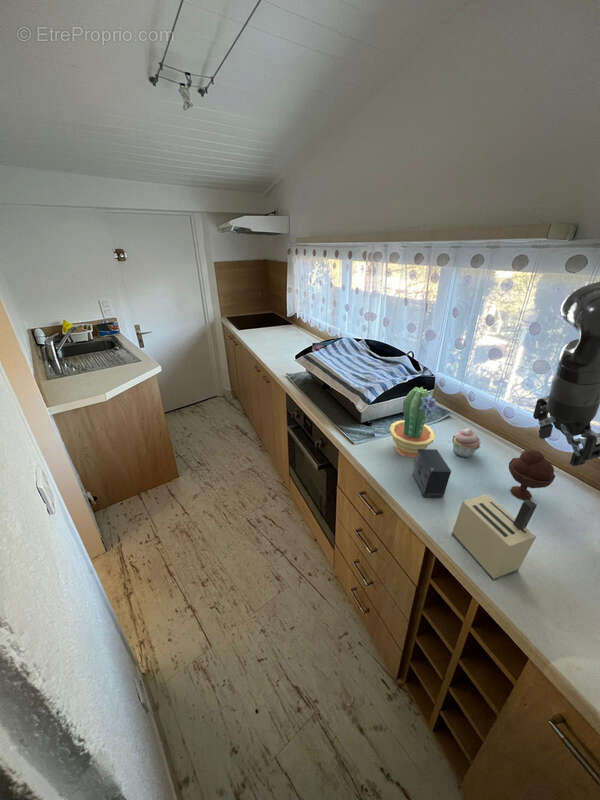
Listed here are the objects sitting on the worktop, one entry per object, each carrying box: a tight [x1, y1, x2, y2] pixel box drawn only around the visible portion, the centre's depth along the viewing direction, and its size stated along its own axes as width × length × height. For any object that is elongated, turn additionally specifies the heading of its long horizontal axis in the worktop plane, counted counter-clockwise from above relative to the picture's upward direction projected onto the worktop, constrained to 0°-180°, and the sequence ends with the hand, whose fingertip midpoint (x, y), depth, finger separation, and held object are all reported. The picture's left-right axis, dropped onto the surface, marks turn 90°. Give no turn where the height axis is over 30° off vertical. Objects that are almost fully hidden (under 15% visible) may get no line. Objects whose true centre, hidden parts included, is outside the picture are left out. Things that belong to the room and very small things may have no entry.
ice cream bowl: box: [508, 448, 556, 501], centre depth 89 cm, size 11×11×15 cm
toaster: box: [451, 493, 537, 581], centre depth 73 cm, size 8×13×12 cm, turn 18°
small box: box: [411, 448, 452, 499], centre depth 93 cm, size 11×6×10 cm, turn 0°
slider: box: [513, 499, 538, 530], centre depth 66 cm, size 2×2×7 cm
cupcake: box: [451, 428, 481, 458], centre depth 108 cm, size 9×9×10 cm
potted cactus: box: [389, 386, 437, 458], centre depth 106 cm, size 16×15×25 cm
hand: (559, 449), depth 67 cm, fingers open, 8 cm apart
